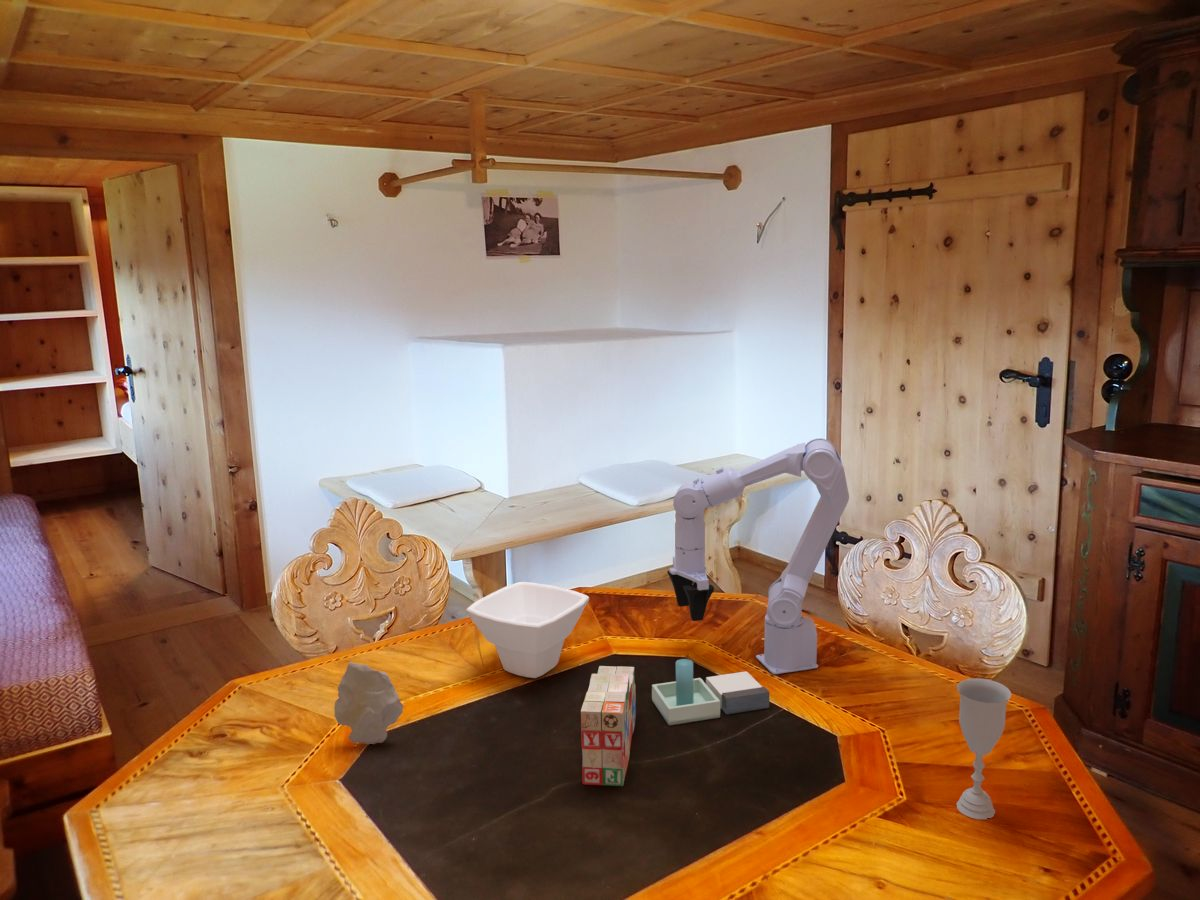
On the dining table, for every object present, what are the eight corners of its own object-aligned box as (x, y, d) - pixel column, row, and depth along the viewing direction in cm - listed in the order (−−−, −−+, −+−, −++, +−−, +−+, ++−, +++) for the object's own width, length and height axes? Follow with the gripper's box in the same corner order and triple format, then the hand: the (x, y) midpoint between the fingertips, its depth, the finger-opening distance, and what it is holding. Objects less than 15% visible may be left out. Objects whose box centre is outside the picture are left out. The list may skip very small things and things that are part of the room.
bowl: (599, 661, 174) (597, 594, 171) (540, 703, 158) (537, 629, 155) (523, 642, 184) (520, 578, 181) (460, 679, 168) (456, 609, 165)
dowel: (689, 700, 157) (689, 657, 155) (696, 708, 154) (695, 664, 152) (673, 702, 156) (673, 660, 154) (679, 710, 153) (679, 667, 151)
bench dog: (764, 702, 156) (764, 686, 156) (769, 707, 155) (769, 691, 154) (721, 709, 155) (721, 693, 154) (726, 714, 153) (726, 698, 152)
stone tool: (407, 736, 148) (401, 652, 145) (404, 747, 144) (398, 662, 141) (340, 740, 147) (332, 656, 144) (335, 752, 144) (327, 666, 140)
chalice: (997, 830, 120) (1006, 707, 117) (944, 814, 124) (952, 695, 120) (1005, 802, 126) (1014, 685, 123) (955, 788, 130) (962, 674, 126)
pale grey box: (746, 686, 163) (746, 671, 163) (763, 703, 157) (763, 688, 156) (705, 692, 161) (705, 677, 161) (721, 710, 155) (721, 694, 154)
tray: (700, 693, 160) (700, 677, 160) (720, 717, 152) (720, 701, 151) (652, 700, 158) (651, 684, 158) (669, 725, 149) (668, 709, 149)
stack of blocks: (600, 715, 154) (598, 648, 151) (636, 716, 153) (635, 649, 151) (582, 785, 133) (580, 710, 131) (623, 787, 132) (622, 711, 130)
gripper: (658, 537, 176) (658, 601, 179) (683, 559, 162) (683, 629, 165) (691, 533, 178) (691, 597, 181) (719, 555, 164) (719, 624, 167)
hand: (690, 612), depth 173 cm, fingers open, 7 cm apart
